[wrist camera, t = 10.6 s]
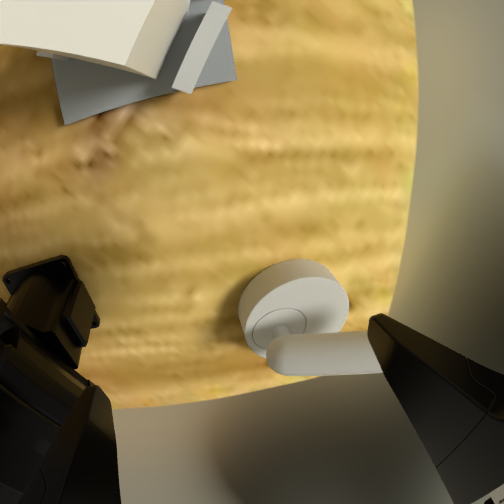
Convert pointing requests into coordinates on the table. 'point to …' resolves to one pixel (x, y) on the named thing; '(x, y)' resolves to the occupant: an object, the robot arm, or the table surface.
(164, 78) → the plate
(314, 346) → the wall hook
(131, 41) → the white block orange patch
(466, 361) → the robot arm
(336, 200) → the table surface
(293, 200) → the table surface
